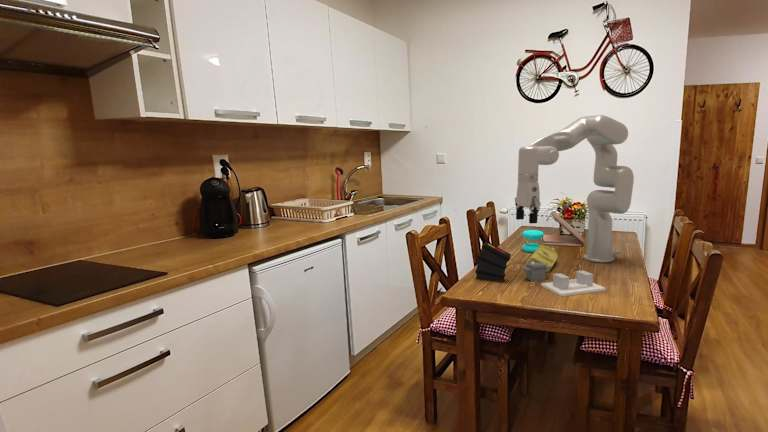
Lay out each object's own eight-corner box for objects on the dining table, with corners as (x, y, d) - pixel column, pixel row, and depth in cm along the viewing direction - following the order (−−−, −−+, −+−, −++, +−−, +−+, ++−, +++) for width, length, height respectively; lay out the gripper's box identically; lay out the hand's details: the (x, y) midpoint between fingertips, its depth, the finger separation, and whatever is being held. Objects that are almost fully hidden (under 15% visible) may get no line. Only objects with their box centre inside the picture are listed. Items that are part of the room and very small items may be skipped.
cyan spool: (546, 230, 207) (541, 234, 199) (545, 249, 209) (540, 254, 200) (525, 228, 213) (520, 232, 204) (525, 247, 214) (520, 252, 206)
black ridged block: (470, 271, 171) (486, 240, 166) (499, 288, 167) (516, 257, 162) (467, 274, 168) (483, 243, 163) (497, 291, 164) (514, 259, 159)
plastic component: (551, 267, 171) (529, 255, 174) (543, 281, 174) (521, 269, 178) (559, 253, 187) (539, 242, 191) (552, 266, 190) (531, 255, 194)
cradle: (582, 280, 160) (582, 267, 159) (605, 290, 149) (606, 276, 148) (541, 285, 156) (541, 272, 155) (561, 296, 145) (562, 281, 144)
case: (584, 247, 211) (585, 216, 209) (540, 245, 219) (541, 215, 216) (580, 239, 230) (582, 210, 228) (540, 237, 238) (541, 209, 235)
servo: (544, 276, 168) (545, 259, 166) (551, 279, 164) (551, 261, 163) (520, 278, 165) (521, 262, 164) (526, 281, 161) (526, 264, 160)
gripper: (549, 179, 155) (547, 224, 158) (524, 176, 172) (523, 217, 174) (531, 180, 153) (529, 225, 156) (508, 177, 170) (507, 218, 173)
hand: (526, 221), depth 165 cm, fingers open, 9 cm apart
